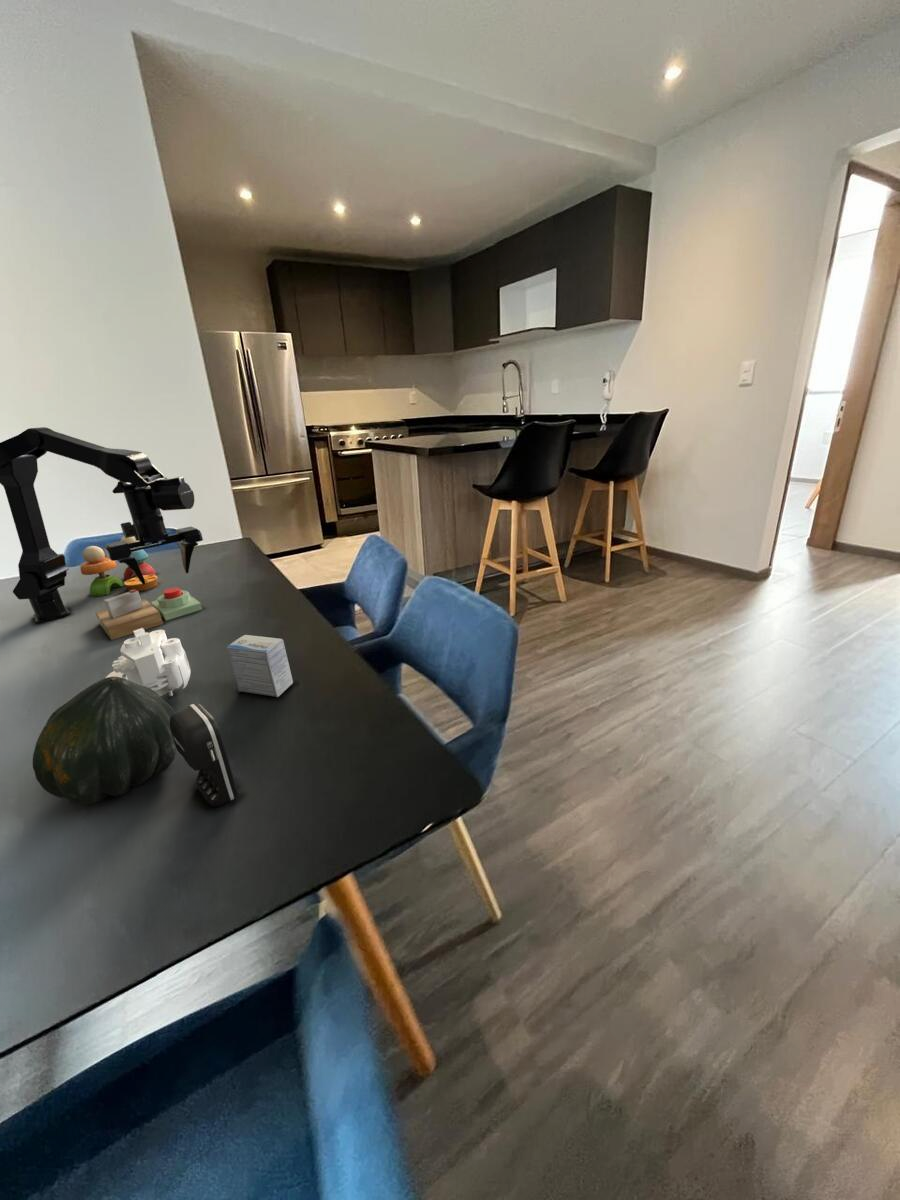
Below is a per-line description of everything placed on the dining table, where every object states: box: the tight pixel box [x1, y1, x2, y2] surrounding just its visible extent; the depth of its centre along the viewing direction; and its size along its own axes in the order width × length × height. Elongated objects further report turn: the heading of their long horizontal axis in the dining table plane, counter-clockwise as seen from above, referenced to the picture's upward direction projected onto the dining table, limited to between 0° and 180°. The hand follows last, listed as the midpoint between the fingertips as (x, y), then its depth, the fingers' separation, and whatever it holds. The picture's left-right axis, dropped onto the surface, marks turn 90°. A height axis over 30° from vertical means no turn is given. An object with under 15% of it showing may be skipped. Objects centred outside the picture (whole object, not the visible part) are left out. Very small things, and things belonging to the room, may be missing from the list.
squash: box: [32, 677, 177, 806], centre depth 62 cm, size 14×15×15 cm
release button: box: [162, 587, 182, 599], centre depth 116 cm, size 4×4×2 cm
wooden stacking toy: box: [80, 535, 158, 597], centre depth 135 cm, size 18×17×12 cm
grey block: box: [103, 589, 143, 618], centre depth 108 cm, size 6×2×4 cm, turn 148°
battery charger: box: [170, 702, 239, 808], centre depth 58 cm, size 7×4×11 cm, turn 45°
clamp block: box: [95, 598, 164, 641], centre depth 110 cm, size 12×11×3 cm
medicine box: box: [226, 634, 294, 698], centre depth 80 cm, size 8×4×9 cm, turn 71°
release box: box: [150, 589, 203, 621], centre depth 117 cm, size 11×8×4 cm
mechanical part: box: [105, 628, 191, 698], centre depth 78 cm, size 11×12×12 cm
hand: (166, 578), depth 114 cm, fingers open, 9 cm apart
